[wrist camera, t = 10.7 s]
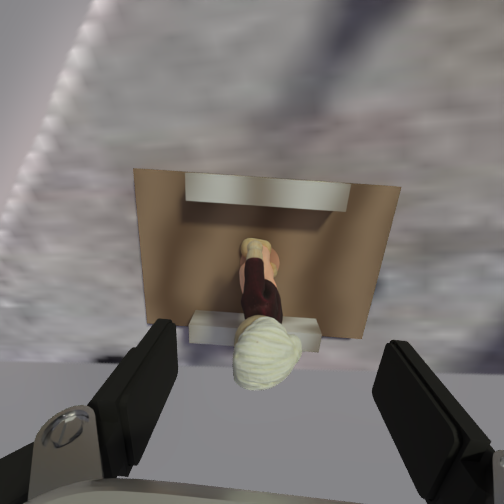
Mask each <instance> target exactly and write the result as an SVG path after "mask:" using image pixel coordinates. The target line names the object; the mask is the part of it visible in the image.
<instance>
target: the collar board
mask: <svg viewBox="0 0 504 504" xmlns="http://www.w3.org/2000/svg"><path fill="white" fill-rule="evenodd" d="M133 172H134V183H135V194H136V205H137V216H138V227H139V238H140V249H141V260H142V271H143V282H144V293H145V303H146V314H147V323H150V324H154V323H155V321H156V320H157V319H158V318H161V319H171V320H172V323H175V324H176V325H177V326H189V343H196V344H210V345H224V346H234V337H235V333H236V331H237V329H238V327H239V325H240V324H241V323H242V322H243V321H244V320H245V318H244V313H243V309H242V306H241V297H242V290H241V286H240V277H239V271H240V267H241V266H242V265H243V264H244V263H245V262H246V258H245V257H244V256H243V255H242V253H241V244H242V242H243V241H244V240H245V239H247V238H255V239H261V240H266V241H268V242H269V243H270V244H271V253H270V262H272V263H274V264H275V265H276V267H277V275H276V276H275V277H274V278H273V279H274V281H275V283H276V286H277V289H278V292H279V295H280V297H281V305H282V312H283V321H282V325H283V326H284V327H285V329H286V331H287V333H288V334H290V335H291V334H294V335H296V336H297V337H298V338H299V339H300V341H301V344H302V351H305V352H319V347H320V342H321V337H322V336H327V337H341V338H355V339H362V336H363V332H364V329H365V325H366V321H367V317H368V313H369V309H370V306H371V302H372V298H373V294H374V290H375V286H376V283H377V279H378V275H379V271H380V267H381V263H382V260H383V256H384V252H385V248H386V244H387V240H388V237H389V233H390V229H391V225H392V221H393V217H394V214H395V210H396V206H397V202H398V198H399V194H400V191H401V187H396V186H382V185H368V184H353V183H339V182H325V181H310V180H296V179H281V178H267V177H253V176H238V175H224V174H209V173H195V172H181V171H166V170H152V169H136V168H133Z"/></svg>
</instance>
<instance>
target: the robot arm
mask: <svg viewBox="0 0 504 504" xmlns="http://www.w3.org/2000/svg"><path fill="white" fill-rule="evenodd" d="M177 374H178V358H177V337H176V324H175V323H172V320H171V319H161V318H158V319H157V320H156V321H155V323H154V324H153V325H152V327H151V328H150V329H149V331H148V332H147V333H146V335H145V336H144V337H143V339H142V340H141V342H140V343H139V344H138V346H137V347H136V348H135V347H134V348H132V349H130V350H129V352H128V353H127V354H126V355H125V357H124V358H123V359H122V361H121V362H120V363H119V365H118V366H117V367H116V369H115V370H114V371H113V372H112V374H111V375H110V376H109V378H108V379H107V380H106V382H105V383H104V384H103V385H102V387H101V388H100V389H99V391H98V392H97V393H96V394H95V396H94V397H93V398H92V400H91V401H90V402H89V403H88V405H87V406H84V405H78V406H73V407H70V408H67V409H65V410H63V411H61V412H59V413H57V414H56V415H54V416H53V417H52V418H50V419H49V420H48V421H47V422H46V423H45V424H44V425H43V426H42V427H41V429H40V430H39V432H38V433H37V435H36V438H35V441H34V442H32V443H30V444H28V445H26V446H24V447H22V448H21V449H19V450H17V451H15V452H13V453H11V454H9V455H7V456H5V457H3V458H1V459H0V504H361V503H353V502H345V501H336V500H328V499H319V498H311V497H302V496H294V495H284V494H277V493H268V492H259V491H250V490H241V489H232V488H223V487H214V486H205V485H196V484H187V483H177V482H165V481H154V480H143V479H120V478H117V476H125V477H128V476H129V473H130V471H131V469H132V467H133V465H138V463H139V461H140V459H141V457H142V455H143V453H144V451H145V448H146V446H147V444H148V441H149V439H150V437H151V434H152V432H153V429H154V428H155V426H156V423H157V421H158V419H159V416H160V414H161V412H162V409H163V407H164V405H165V403H166V400H167V398H168V396H169V394H170V391H171V389H172V387H173V385H174V382H175V380H176V377H177ZM372 395H373V398H374V401H375V403H376V405H377V407H378V409H379V411H380V413H381V415H382V418H383V420H384V422H385V424H386V426H387V428H388V430H389V432H390V434H391V436H392V439H393V441H394V443H395V445H396V447H397V449H398V451H399V453H400V456H401V458H402V460H403V462H404V464H405V466H406V468H407V470H408V473H409V475H410V477H411V479H412V481H413V483H414V485H415V487H416V489H417V491H418V493H419V495H420V496H421V497H422V498H423V499H425V500H426V502H427V504H504V450H498V451H496V452H495V451H494V449H493V448H492V447H491V446H490V443H491V441H490V440H489V439H488V437H487V436H486V435H485V434H484V432H483V431H482V430H481V429H480V428H479V426H478V425H477V424H476V423H475V422H474V420H473V419H472V418H471V417H470V416H469V415H468V413H467V412H466V411H465V410H464V408H463V407H462V406H461V405H460V404H459V402H458V401H457V400H456V399H455V398H454V396H453V395H452V394H451V393H450V392H449V391H448V389H447V388H446V387H445V386H444V385H443V383H442V382H441V381H440V380H439V378H438V377H437V376H436V375H435V374H434V372H433V371H432V370H431V369H430V368H429V366H428V365H427V364H426V363H425V362H424V360H423V359H422V358H421V357H420V356H419V354H418V353H417V352H416V351H415V350H414V348H413V347H412V346H411V345H410V344H409V343H408V342H407V341H399V340H391V341H390V343H387V344H386V346H385V349H384V352H383V356H382V359H381V362H380V365H379V369H378V372H377V375H376V378H375V382H374V385H373V388H372Z"/></svg>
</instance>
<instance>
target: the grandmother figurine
mask: <svg viewBox="0 0 504 504" xmlns="http://www.w3.org/2000/svg"><path fill="white" fill-rule="evenodd" d="M241 253H242V255H243V256H244V257H245V258H246V262H245V263H244V264H243V265H242V266H241V267H240V271H239V277H240V286H241V290H242V297H241V306H242V309H243V313H244V318H245V320H244V321H243V322H242V323H241V324H240V325H239V327H238V329H237V331H236V333H235V337H234V353H233V376H234V380H235V382H236V383H237V384H238V385H239V386H240V387H242V388H244V389H247V390H264V389H269V388H272V387H274V386H276V385H277V384H279V383H280V382H281V381H283V380H284V379H285V378H286V377H287V376H288V375H289V374H290V373H291V371H292V369H293V367H294V365H295V364H296V363H297V362H298V361H299V358H300V357H301V354H302V344H301V341H300V339H299V338H298V337H297V336H296V335H294V334H291V335H290V334H288V333H287V331H286V329H285V327H284V326H283V325H282V321H283V312H282V305H281V297H280V295H279V292H278V289H277V286H276V283H275V281H274V279H273V278H274V277H275V276H276V275H277V267H276V265H275V264H274V263H272V262H270V253H271V244H270V243H269V242H268V241H266V240H261V239H255V238H247V239H245V240H244V241H243V242H242V244H241Z"/></svg>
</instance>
